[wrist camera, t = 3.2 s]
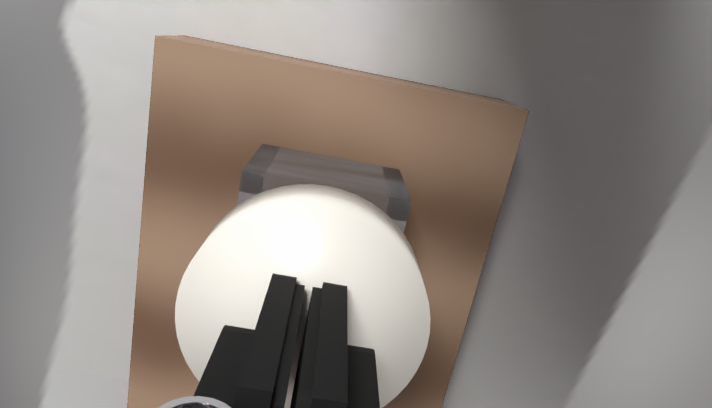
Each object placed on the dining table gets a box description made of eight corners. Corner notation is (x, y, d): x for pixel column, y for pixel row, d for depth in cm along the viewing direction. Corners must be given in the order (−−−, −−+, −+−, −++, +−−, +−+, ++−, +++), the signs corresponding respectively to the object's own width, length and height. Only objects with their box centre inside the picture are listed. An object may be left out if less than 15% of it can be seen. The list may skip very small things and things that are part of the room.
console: (184, 35, 19) (104, 36, 13) (502, 99, 20) (573, 129, 14) (144, 468, 25) (77, 611, 19) (390, 503, 26) (403, 650, 20)
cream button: (239, 135, 15) (187, 182, 10) (424, 169, 16) (458, 232, 11) (217, 301, 17) (164, 411, 12) (385, 329, 17) (399, 446, 13)
